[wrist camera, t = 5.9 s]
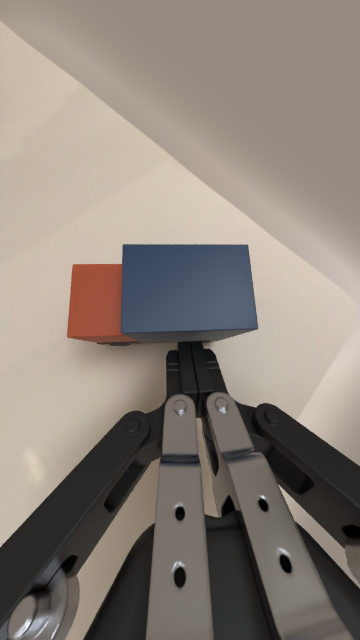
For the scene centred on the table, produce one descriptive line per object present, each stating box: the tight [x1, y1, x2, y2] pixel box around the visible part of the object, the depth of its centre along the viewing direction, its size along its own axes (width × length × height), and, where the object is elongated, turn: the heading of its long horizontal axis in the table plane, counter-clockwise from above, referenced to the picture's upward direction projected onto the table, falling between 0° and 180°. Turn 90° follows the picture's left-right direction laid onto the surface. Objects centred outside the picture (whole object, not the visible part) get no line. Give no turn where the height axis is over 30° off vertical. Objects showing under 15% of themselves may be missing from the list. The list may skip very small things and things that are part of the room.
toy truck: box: [67, 244, 258, 346], centre depth 14 cm, size 11×5×9 cm, turn 92°
